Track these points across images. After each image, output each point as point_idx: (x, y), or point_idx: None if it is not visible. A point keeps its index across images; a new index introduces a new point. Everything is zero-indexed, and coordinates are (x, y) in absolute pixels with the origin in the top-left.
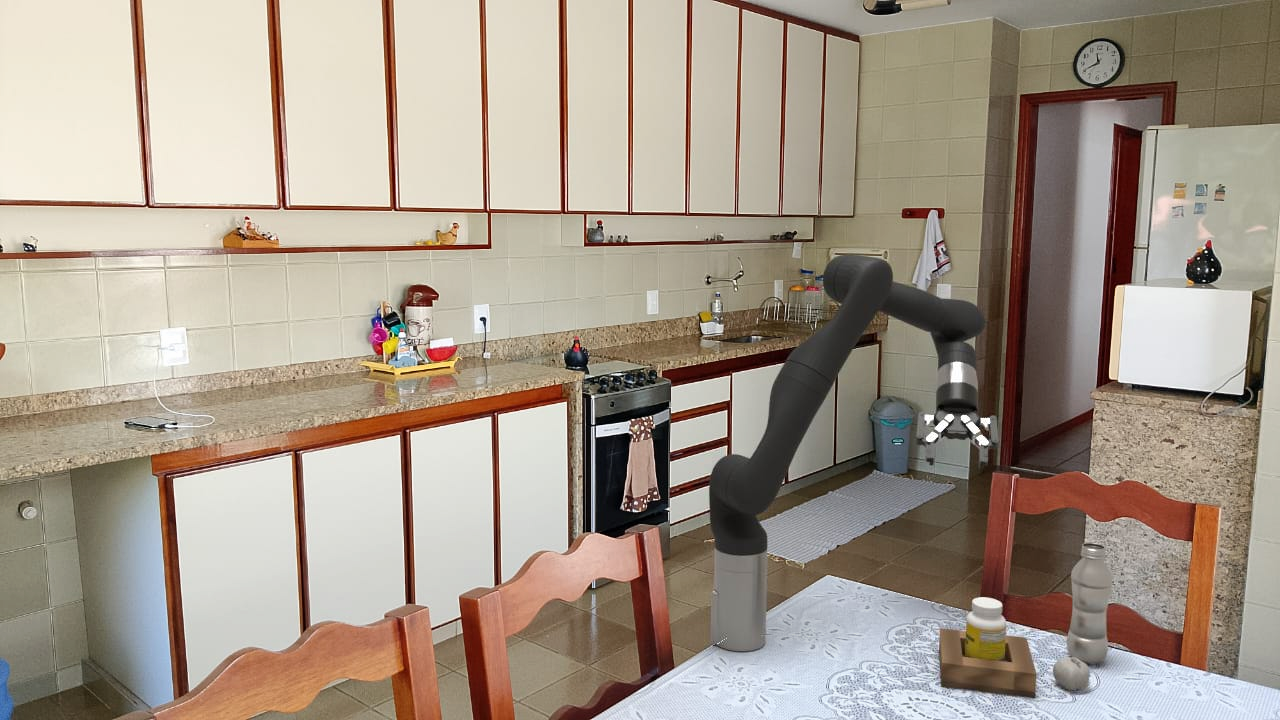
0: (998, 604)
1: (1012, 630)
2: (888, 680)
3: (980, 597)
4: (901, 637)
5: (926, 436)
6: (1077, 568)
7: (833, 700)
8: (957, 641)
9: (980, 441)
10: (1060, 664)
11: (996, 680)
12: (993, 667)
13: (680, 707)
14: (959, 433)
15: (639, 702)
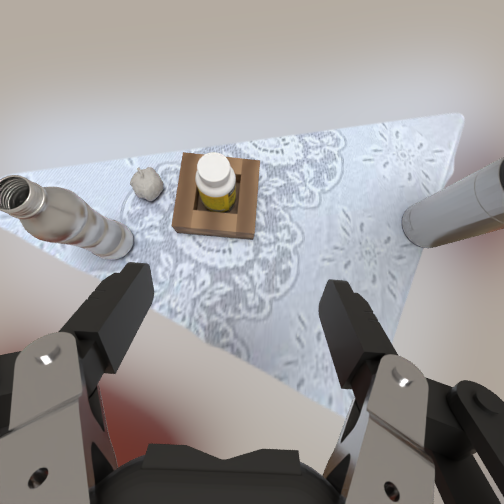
0: (201, 163)
1: (172, 302)
2: (297, 176)
3: (218, 179)
4: (285, 262)
5: (434, 420)
6: (69, 203)
7: (336, 140)
8: (241, 205)
9: (73, 356)
10: (155, 176)
11: None
12: None
13: (432, 118)
14: (203, 453)
15: (459, 120)
